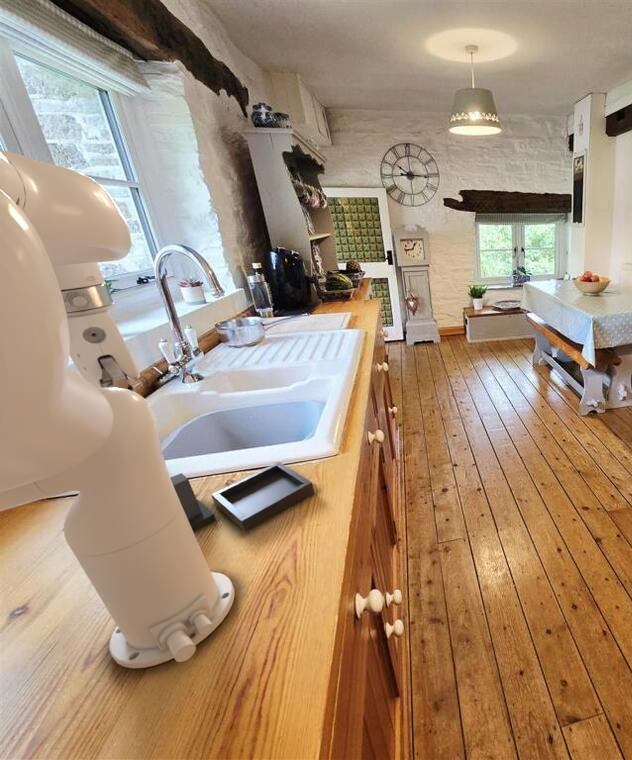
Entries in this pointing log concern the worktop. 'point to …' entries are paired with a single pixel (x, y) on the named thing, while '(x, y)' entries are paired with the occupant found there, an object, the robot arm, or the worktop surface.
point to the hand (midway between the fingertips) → (125, 416)
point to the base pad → (262, 495)
